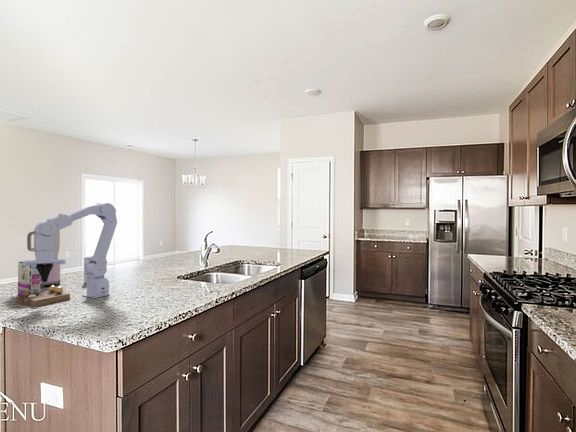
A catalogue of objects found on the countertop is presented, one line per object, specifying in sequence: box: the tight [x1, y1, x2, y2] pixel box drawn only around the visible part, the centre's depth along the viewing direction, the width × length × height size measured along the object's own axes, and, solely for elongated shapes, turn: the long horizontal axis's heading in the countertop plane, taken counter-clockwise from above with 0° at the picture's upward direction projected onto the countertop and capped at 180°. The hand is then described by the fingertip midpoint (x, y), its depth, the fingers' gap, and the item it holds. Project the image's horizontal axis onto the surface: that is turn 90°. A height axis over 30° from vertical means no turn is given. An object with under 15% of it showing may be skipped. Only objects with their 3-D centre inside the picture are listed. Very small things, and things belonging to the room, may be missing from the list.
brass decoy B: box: [47, 285, 57, 293], centre depth 151 cm, size 3×3×3 cm
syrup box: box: [83, 255, 93, 284], centre depth 187 cm, size 6×6×14 cm
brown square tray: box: [16, 290, 71, 308], centre depth 146 cm, size 14×14×2 cm
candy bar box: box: [17, 259, 42, 297], centre depth 153 cm, size 11×5×16 cm, turn 62°
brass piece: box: [55, 286, 64, 294], centre depth 149 cm, size 3×3×3 cm
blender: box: [26, 229, 61, 288], centre depth 176 cm, size 16×12×32 cm
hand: (44, 281), depth 141 cm, fingers closed
